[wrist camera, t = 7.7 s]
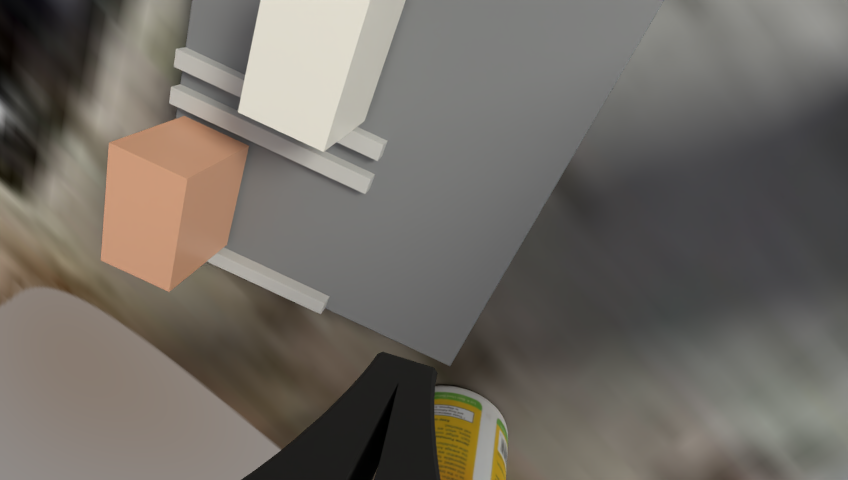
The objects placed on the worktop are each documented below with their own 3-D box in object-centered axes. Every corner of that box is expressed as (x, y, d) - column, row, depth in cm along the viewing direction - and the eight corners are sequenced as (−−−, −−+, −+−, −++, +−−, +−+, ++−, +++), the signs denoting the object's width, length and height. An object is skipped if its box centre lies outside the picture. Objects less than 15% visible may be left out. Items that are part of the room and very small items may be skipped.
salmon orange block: (249, 145, 18) (187, 179, 14) (227, 244, 20) (168, 291, 17) (184, 115, 18) (109, 142, 14) (169, 218, 20) (100, 260, 17)
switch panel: (856, -364, 11) (990, -512, 8) (457, 336, 22) (442, 398, 19) (330, -607, 11) (242, -858, 8) (190, 212, 22) (128, 251, 19)
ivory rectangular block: (412, -20, 14) (377, -23, 11) (364, 121, 16) (323, 151, 13) (332, -58, 14) (275, -70, 11) (294, 88, 16) (237, 112, 13)
